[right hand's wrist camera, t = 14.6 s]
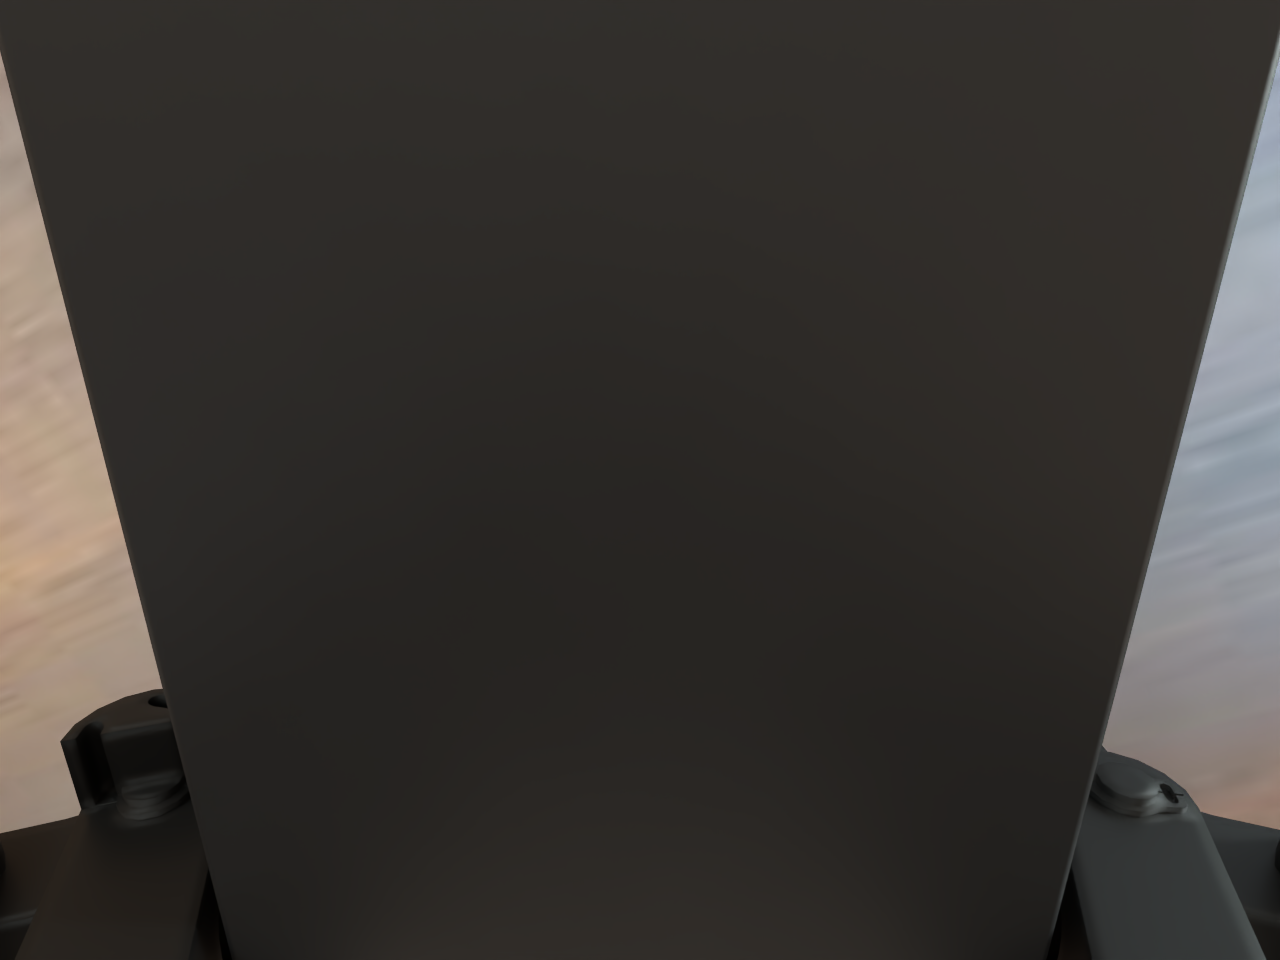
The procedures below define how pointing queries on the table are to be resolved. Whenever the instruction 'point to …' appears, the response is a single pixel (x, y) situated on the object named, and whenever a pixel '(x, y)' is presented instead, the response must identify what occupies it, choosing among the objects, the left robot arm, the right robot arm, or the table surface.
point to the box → (639, 443)
